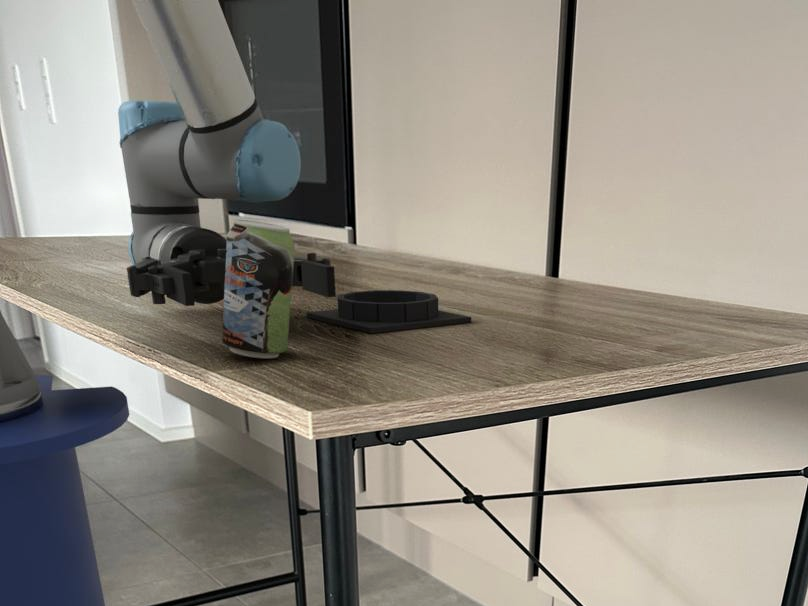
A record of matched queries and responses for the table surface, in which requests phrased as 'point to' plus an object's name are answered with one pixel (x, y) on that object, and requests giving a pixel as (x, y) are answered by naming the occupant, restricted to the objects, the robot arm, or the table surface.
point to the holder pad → (388, 326)
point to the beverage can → (257, 289)
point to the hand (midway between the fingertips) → (262, 285)
